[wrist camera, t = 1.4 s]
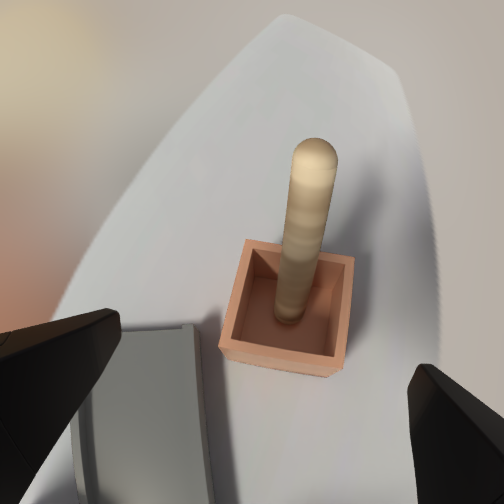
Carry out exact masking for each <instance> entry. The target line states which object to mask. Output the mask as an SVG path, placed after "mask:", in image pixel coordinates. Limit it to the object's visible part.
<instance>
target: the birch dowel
mask: <svg viewBox="0 0 504 504" xmlns="http://www.w3.org/2000/svg"><path fill="white" fill-rule="evenodd" d="M337 165H338V157H337V154H336V151H335V149H334V148H333V146H332V145H331V144H330V143H328V142H327V141H325V140H323V139H320V138H310V139H306V140H304V141H302V142H301V143H300V144H298V146H297V147H296V148H295V150H294V153H293V157H292V166H291V175H290V184H289V193H288V201H287V210H286V218H285V226H284V234H283V242H282V250H281V258H280V265H279V273H278V280H277V288H276V295H275V302H274V314H275V317H276V318H277V319H278V320H279V321H280V322H281V323H283V324H286V325H292V324H295V323H297V322H299V321H300V320H301V319H302V318H303V316H304V313H305V310H306V306H307V302H308V298H309V294H310V290H311V286H312V282H313V278H314V274H315V270H316V266H317V261H318V257H319V253H320V248H321V244H322V239H323V235H324V230H325V226H326V221H327V216H328V211H329V207H330V202H331V197H332V192H333V187H334V181H335V176H336V171H337Z"/></svg>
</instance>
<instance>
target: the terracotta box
mask: <svg viewBox="0 0 504 504" xmlns="http://www.w3.org/2000/svg"><path fill="white" fill-rule="evenodd" d="M281 250H282V245H279V244H273V243H267V242H261V241H255V240H249V239H246V240H245V244H244V247H243V251H242V255H241V259H240V263H239V267H238V270H237V274H236V278H235V282H234V286H233V290H232V294H231V297H230V301H229V305H228V309H227V313H226V317H225V321H224V325H223V329H222V333H221V337H220V340H219V344H218V347H219V349H220V350H221V351H222V353H223V354H224V355H225V356H226V358H227V359H228V360H231V361H236V362H240V363H245V364H250V365H255V366H260V367H265V368H270V369H276V370H281V371H287V372H293V373H299V374H306V375H312V376H319V377H326V378H327V377H329V376H330V375H332V374H334V373H336V372H338V371H340V370H341V369H343V364H344V357H345V350H346V343H347V335H348V326H349V317H350V308H351V298H352V286H353V274H354V259H355V257H350V256H344V255H338V254H332V253H327V252H321V251H320V253H319V257H318V261H317V266H316V270H315V274H314V278H313V282H312V286H311V290H310V294H309V298H308V302H307V306H306V310H305V313H304V316H303V318H302V319H301V320H300V321H299V322H297V323H295V324H292V325H286V324H283V323H281V322H280V321H279V320H278V319H277V318H276V317H275V314H274V302H275V295H276V288H277V280H278V273H279V265H280V258H281Z"/></svg>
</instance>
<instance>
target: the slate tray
mask: <svg viewBox="0 0 504 504" xmlns="http://www.w3.org/2000/svg"><path fill="white" fill-rule="evenodd" d="M70 428H71V442H72V453H73V463H74V471H75V479H76V486H77V492H78V498H79V503H80V504H215V496H214V489H213V481H212V473H211V464H210V456H209V446H208V437H207V427H206V416H205V404H204V392H203V379H202V364H201V348H200V332H199V330H198V329H197V328H196V327H195V326H194V324H186V325H182V329H171V330H154V331H133V332H122V337H121V340H120V343H119V344H118V346H117V348H116V350H115V351H114V353H113V355H112V357H111V359H110V361H109V362H108V364H107V366H106V368H105V370H104V372H103V373H102V375H101V377H100V378H99V380H98V381H97V383H96V384H95V386H94V387H93V388H92V390H91V391H90V393H89V394H88V396H87V397H86V399H85V400H84V402H83V403H82V404H81V406H80V407H79V409H78V410H77V412H76V413H75V415H74V416H73V418H72V419H71V421H70Z"/></svg>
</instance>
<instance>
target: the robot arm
mask: <svg viewBox="0 0 504 504" xmlns="http://www.w3.org/2000/svg"><path fill="white" fill-rule="evenodd" d="M121 337H122V332H121V323H120V315H119V313H118V312H117V311H116V310H112V309H109V308H105V309H101V310H97V311H93V312H89V313H85V314H80V315H76V316H72V317H68V318H64V319H60V320H56V321H52V322H48V323H43V324H39V325H35V326H31V327H27V328H22V329H18V330H14V331H12V332H11V331H10V332H5V333H1V334H0V504H19V503H20V501H21V499H22V497H23V496H24V494H25V492H26V491H27V489H28V487H29V486H30V484H31V482H32V481H33V479H34V477H35V476H36V474H37V472H38V471H39V469H40V467H41V466H42V464H43V463H44V461H45V459H46V458H47V456H48V455H49V453H50V451H51V450H52V448H53V447H54V445H55V444H56V442H57V441H58V439H59V438H60V436H61V434H62V433H63V431H64V430H65V428H66V427H67V425H68V424H69V422H70V421H71V419H72V418H73V416H74V415H75V413H76V412H77V410H78V409H79V407H80V406H81V404H82V403H83V402H84V400H85V399H86V397H87V396H88V394H89V393H90V391H91V390H92V388H93V387H94V386H95V384H96V383H97V381H98V380H99V378H100V377H101V375H102V373H103V372H104V370H105V368H106V366H107V364H108V362H109V361H110V359H111V357H112V355H113V353H114V351H115V350H116V348H117V346H118V344H119V343H120V340H121ZM407 395H408V409H409V428H410V439H411V446H412V453H413V460H414V468H415V477H416V487H417V498H418V504H504V418H502V417H501V416H500V415H498V414H497V413H496V412H495V411H493V410H492V409H490V408H489V407H488V406H487V405H485V404H484V403H483V402H481V401H480V400H479V399H477V398H476V397H475V396H473V395H472V394H471V393H470V392H468V391H467V390H466V389H464V388H463V387H462V386H460V385H459V384H458V383H456V382H455V381H454V380H452V379H451V378H450V377H448V376H447V375H446V374H444V373H443V372H442V371H440V370H439V369H438V368H436V367H435V366H434V365H432V364H419V365H418V366H417V368H416V370H415V373H414V375H413V377H412V379H411V381H410V383H409V385H408V390H407Z"/></svg>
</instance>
